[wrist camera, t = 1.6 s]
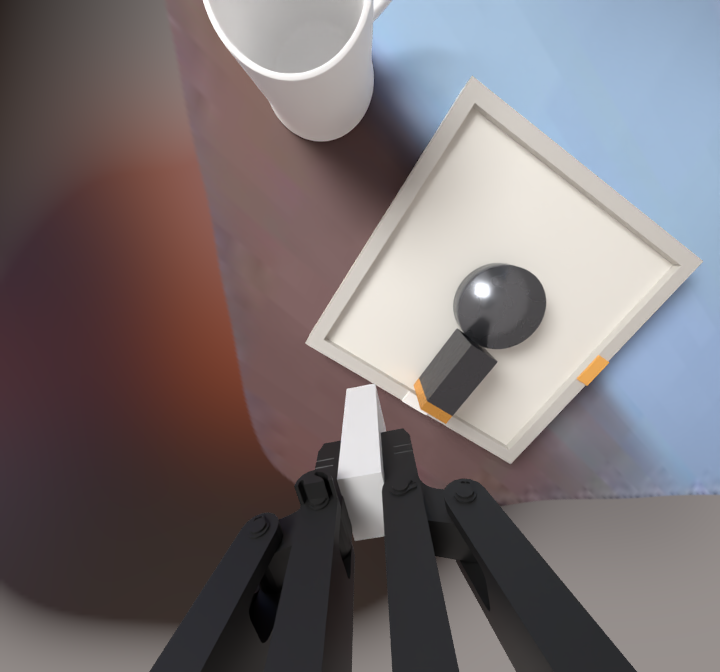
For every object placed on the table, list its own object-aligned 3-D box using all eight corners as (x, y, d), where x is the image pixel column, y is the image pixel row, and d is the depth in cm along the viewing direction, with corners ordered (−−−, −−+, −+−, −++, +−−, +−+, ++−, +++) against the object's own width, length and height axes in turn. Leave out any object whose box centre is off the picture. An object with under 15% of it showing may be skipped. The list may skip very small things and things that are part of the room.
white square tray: (461, 90, 27) (472, 74, 24) (673, 257, 31) (705, 261, 28) (310, 333, 33) (304, 344, 30) (500, 446, 37) (511, 465, 34)
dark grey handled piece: (487, 246, 28) (509, 250, 24) (551, 291, 29) (582, 303, 25) (394, 373, 32) (398, 396, 28) (453, 409, 33) (466, 436, 29)
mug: (380, -41, 24) (394, -272, 13) (429, 84, 27) (477, -20, 15) (244, 53, 26) (151, -77, 15) (301, 162, 29) (258, 122, 17)
